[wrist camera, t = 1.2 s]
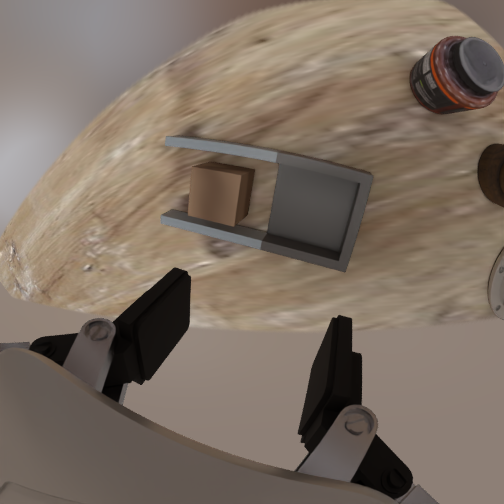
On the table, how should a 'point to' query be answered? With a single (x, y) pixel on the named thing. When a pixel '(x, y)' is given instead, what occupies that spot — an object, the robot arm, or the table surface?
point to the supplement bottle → (458, 75)
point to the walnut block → (220, 192)
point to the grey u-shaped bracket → (292, 206)
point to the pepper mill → (492, 173)
